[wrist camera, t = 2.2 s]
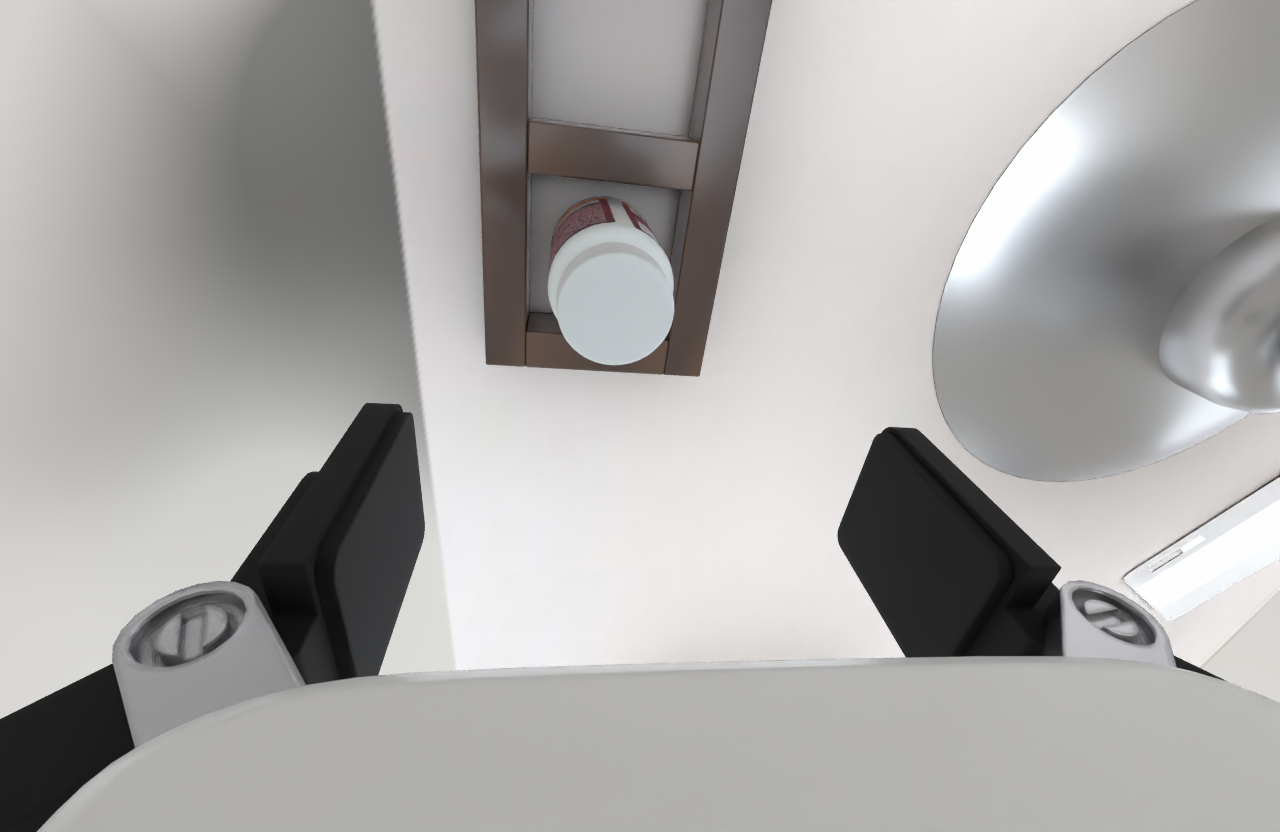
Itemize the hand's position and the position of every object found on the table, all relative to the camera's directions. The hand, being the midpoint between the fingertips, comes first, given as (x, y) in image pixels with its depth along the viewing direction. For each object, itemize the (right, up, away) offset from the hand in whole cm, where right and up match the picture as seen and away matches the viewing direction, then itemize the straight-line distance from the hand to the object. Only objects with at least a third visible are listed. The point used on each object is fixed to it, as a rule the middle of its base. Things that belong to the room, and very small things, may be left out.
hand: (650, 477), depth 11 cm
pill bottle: (-2, +9, +14) cm, 17 cm away
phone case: (+46, -8, +31) cm, 56 cm away
